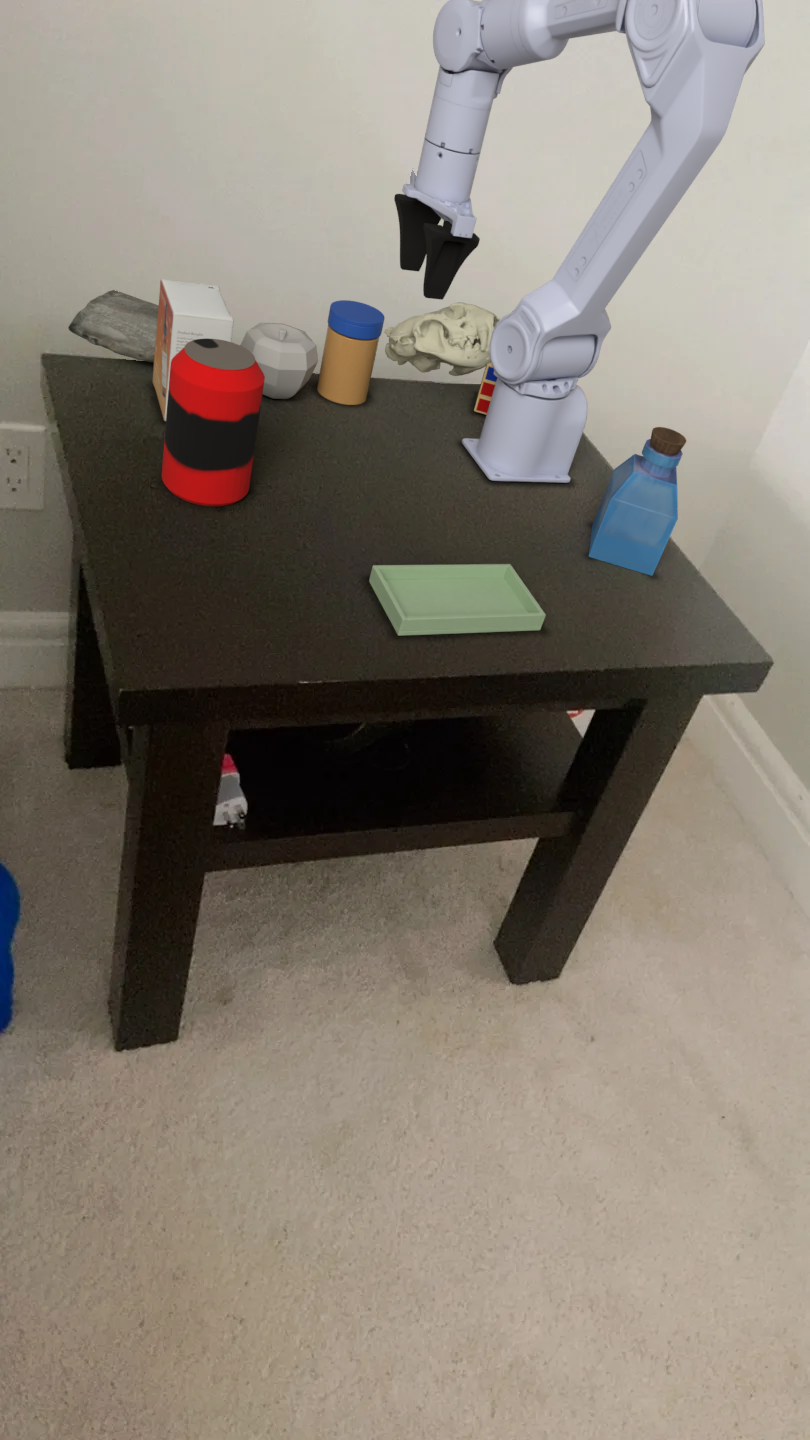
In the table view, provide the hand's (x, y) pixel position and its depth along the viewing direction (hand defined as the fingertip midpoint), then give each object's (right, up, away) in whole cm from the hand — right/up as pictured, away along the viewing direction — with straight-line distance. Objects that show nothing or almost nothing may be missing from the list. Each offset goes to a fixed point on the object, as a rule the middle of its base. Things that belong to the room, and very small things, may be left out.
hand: (421, 283), depth 112 cm
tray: (+2, -37, -26) cm, 45 cm away
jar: (-9, -12, 0) cm, 14 cm away
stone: (-20, -9, -5) cm, 23 cm away
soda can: (-19, -26, -20) cm, 38 cm away
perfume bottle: (+19, -31, -12) cm, 38 cm away
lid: (-7, -5, -5) cm, 10 cm away
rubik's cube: (+9, -12, +6) cm, 16 cm away
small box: (-23, -16, -10) cm, 30 cm away
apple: (-15, -13, -4) cm, 20 cm away
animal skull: (+2, -9, +4) cm, 10 cm away
